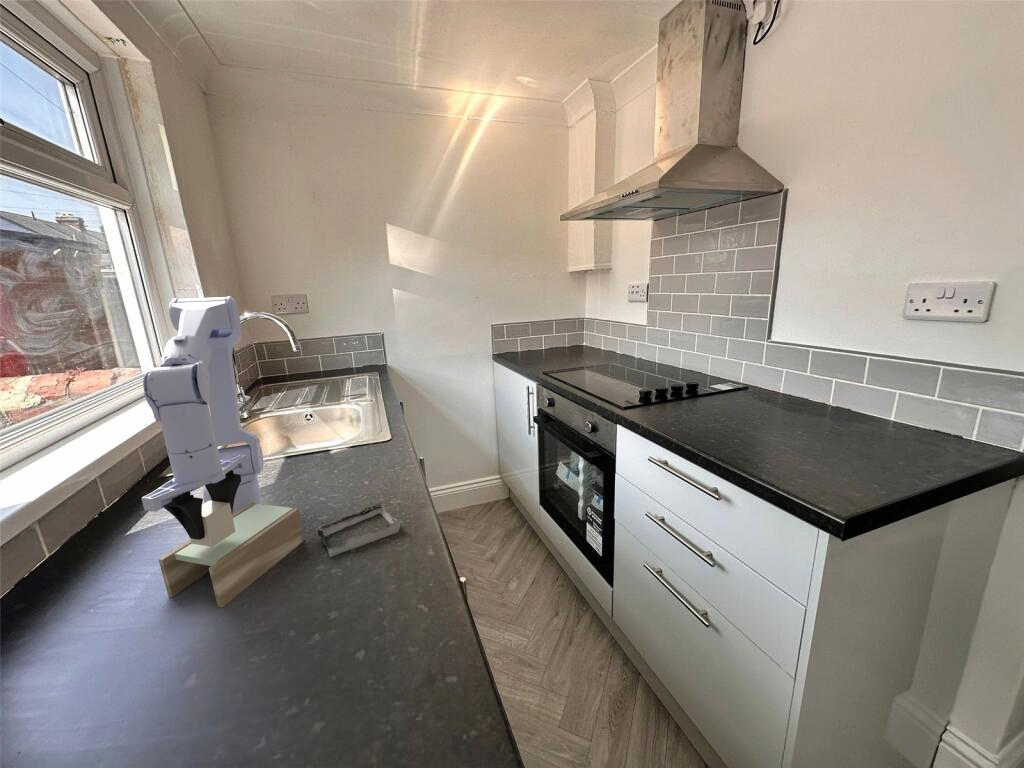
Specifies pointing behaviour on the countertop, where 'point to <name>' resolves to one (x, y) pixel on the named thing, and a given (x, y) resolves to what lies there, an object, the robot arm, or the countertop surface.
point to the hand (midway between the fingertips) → (211, 529)
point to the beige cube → (216, 523)
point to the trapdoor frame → (236, 560)
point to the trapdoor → (234, 534)
